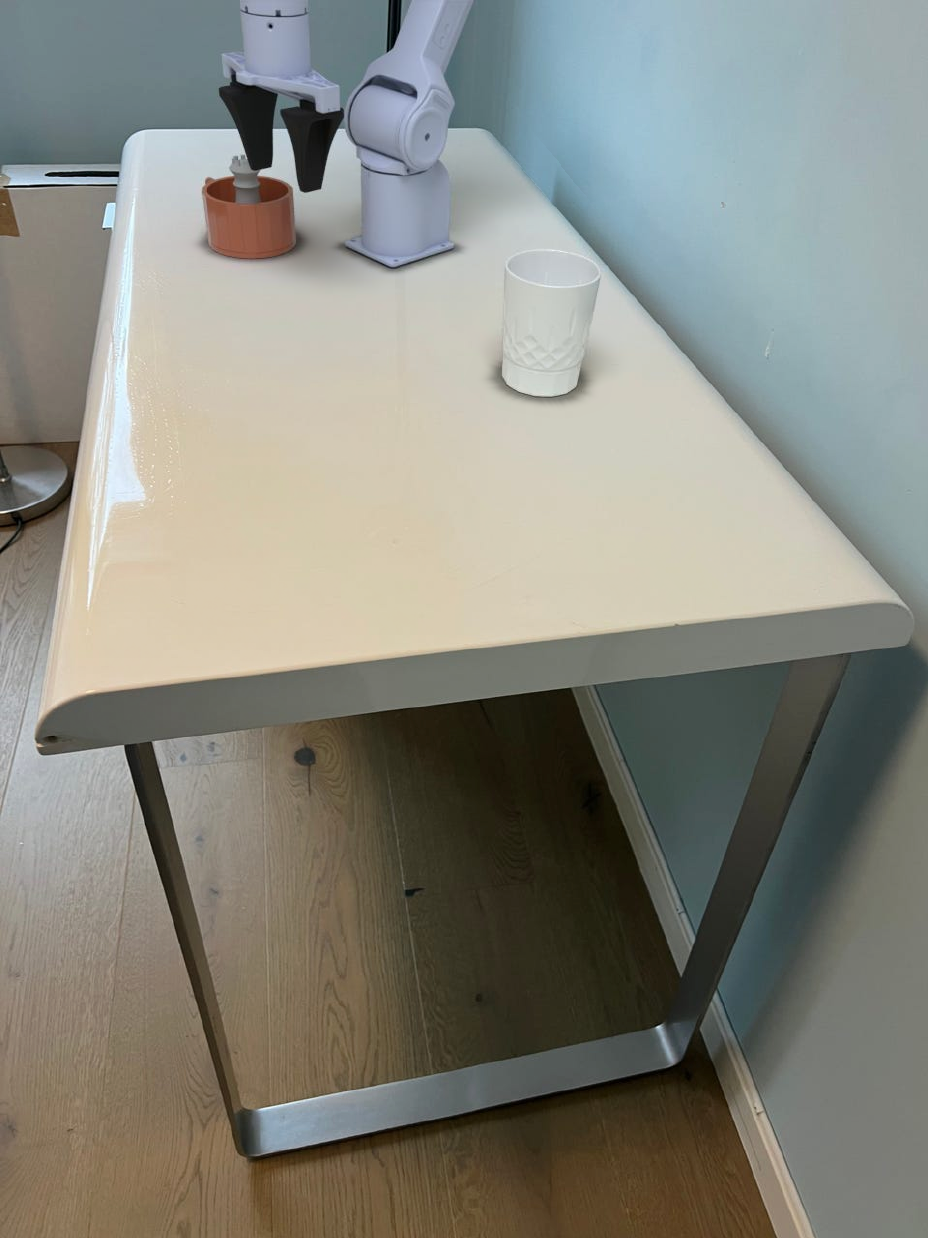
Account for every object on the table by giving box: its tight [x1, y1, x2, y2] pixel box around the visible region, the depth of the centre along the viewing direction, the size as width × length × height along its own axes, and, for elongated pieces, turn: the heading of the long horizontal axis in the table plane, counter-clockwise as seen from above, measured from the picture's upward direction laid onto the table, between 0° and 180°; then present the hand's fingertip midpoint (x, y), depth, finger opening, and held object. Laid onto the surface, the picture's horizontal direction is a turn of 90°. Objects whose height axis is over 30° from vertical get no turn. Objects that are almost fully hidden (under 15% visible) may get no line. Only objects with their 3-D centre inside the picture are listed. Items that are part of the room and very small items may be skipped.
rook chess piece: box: [228, 154, 261, 204], centre depth 100 cm, size 4×4×8 cm
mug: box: [201, 175, 297, 260], centre depth 102 cm, size 12×9×6 cm
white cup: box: [501, 248, 602, 398], centre depth 80 cm, size 8×8×10 cm
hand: (285, 178), depth 89 cm, fingers open, 7 cm apart
